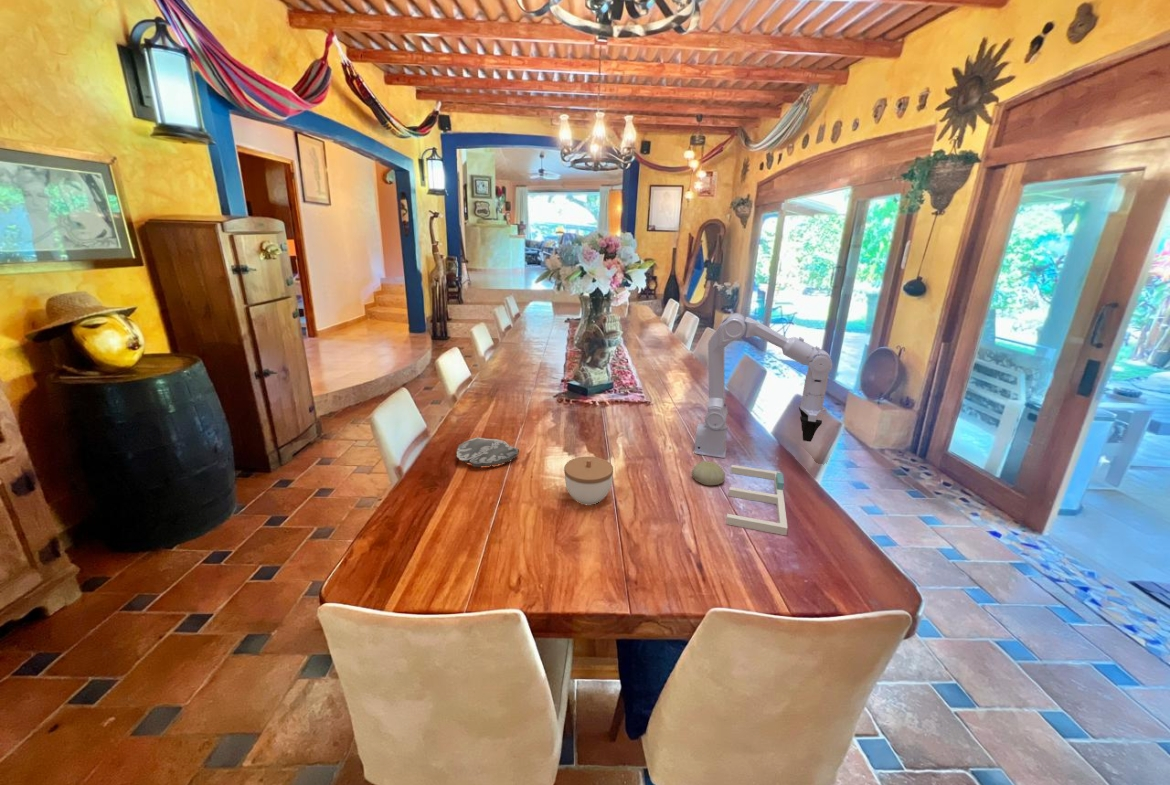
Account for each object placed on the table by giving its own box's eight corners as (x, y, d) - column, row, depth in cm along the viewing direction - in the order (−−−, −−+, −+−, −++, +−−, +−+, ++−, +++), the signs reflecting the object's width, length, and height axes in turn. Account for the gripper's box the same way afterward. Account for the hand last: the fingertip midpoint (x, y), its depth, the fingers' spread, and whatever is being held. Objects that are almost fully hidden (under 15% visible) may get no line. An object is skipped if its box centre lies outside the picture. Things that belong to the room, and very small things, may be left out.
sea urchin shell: (726, 467, 136) (727, 458, 129) (722, 493, 133) (723, 485, 126) (694, 462, 139) (693, 453, 132) (690, 487, 136) (689, 479, 129)
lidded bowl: (577, 516, 115) (577, 476, 111) (556, 492, 125) (556, 455, 122) (621, 503, 120) (622, 465, 117) (597, 481, 131) (598, 446, 127)
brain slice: (441, 463, 141) (441, 454, 140) (478, 442, 155) (478, 434, 155) (493, 479, 133) (493, 469, 132) (527, 455, 147) (527, 446, 146)
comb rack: (726, 524, 112) (727, 509, 111) (730, 470, 138) (732, 458, 137) (786, 535, 108) (788, 520, 107) (779, 478, 134) (781, 465, 133)
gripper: (832, 402, 126) (823, 447, 131) (827, 387, 139) (819, 429, 143) (803, 398, 129) (795, 443, 133) (801, 384, 141) (794, 425, 146)
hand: (806, 435), depth 138 cm, fingers open, 7 cm apart
